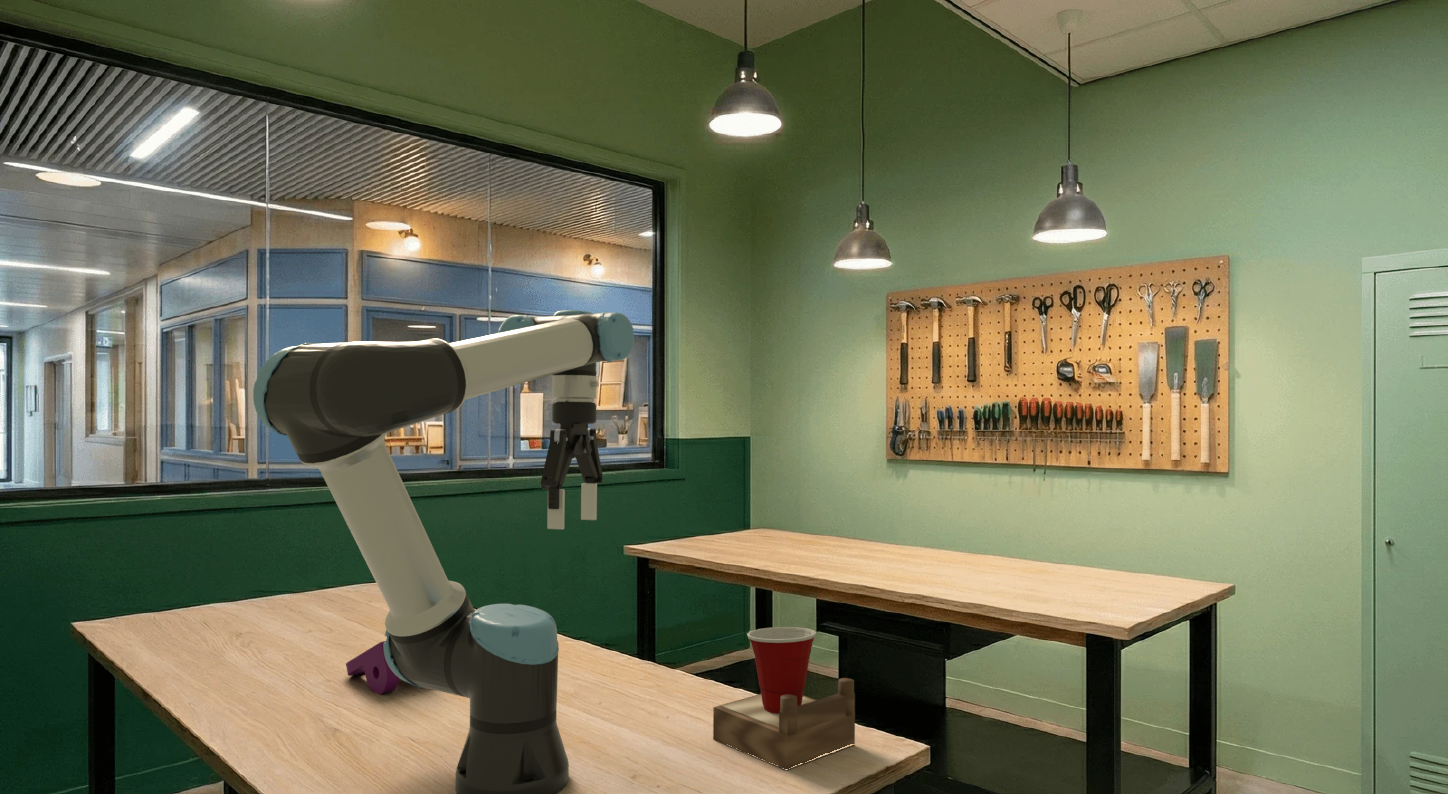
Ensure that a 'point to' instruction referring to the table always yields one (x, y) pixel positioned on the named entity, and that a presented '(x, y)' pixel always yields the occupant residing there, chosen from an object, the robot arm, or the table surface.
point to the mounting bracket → (374, 669)
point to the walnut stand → (788, 726)
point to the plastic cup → (781, 662)
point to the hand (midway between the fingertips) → (572, 524)
